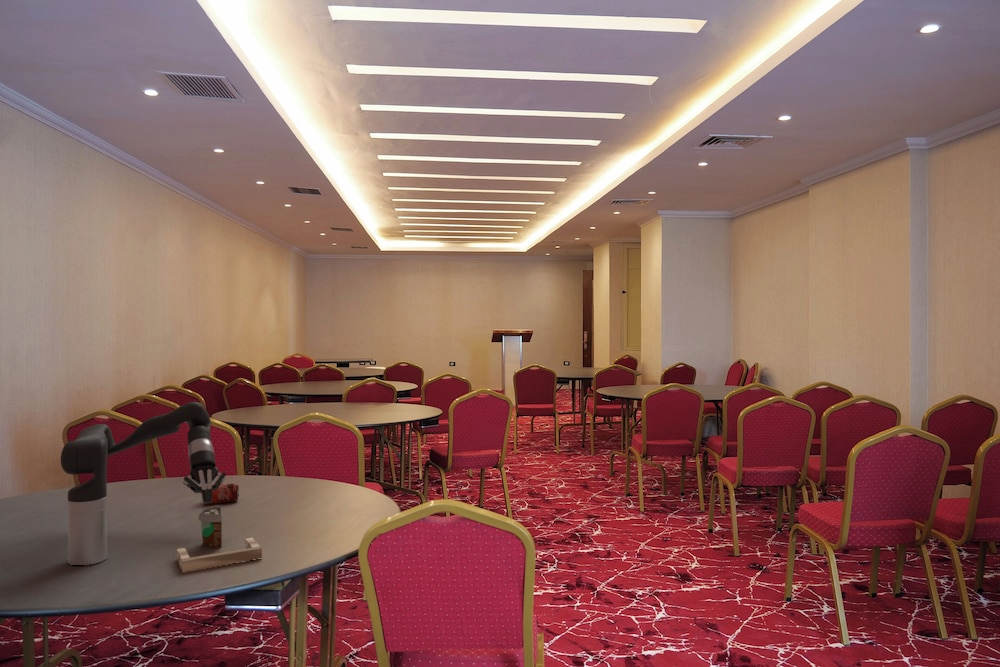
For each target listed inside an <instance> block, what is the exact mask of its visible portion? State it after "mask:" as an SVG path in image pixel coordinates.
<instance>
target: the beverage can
mask: <svg viewBox="0 0 1000 667" xmlns="http://www.w3.org/2000/svg"><path fill="white" fill-rule="evenodd" d="M213 485H214V484H212V486H213ZM205 486H206V484H205ZM206 490H207V488H206ZM212 495H213V499H212V501H211V502H210V503H209V504H219V503H220V504H222V503H233V502H236V501H238V500H239V496H240V493H239V484H235V483H224V484H223V483H221V485H220V486H219V487H218V489H217V490H216V491H212ZM209 504H208V505H209Z"/></svg>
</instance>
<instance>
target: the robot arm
mask: <svg viewBox="0 0 1000 667" xmlns="http://www.w3.org/2000/svg"><path fill="white" fill-rule="evenodd" d="M185 422H186V423H187V425H188V428H189V430H188V432H187V435H186V438H187V445H188V451H187V452H188V454H187V455H188V461H189V462H188V463H189V468H190V471H189V474H188V475H187V476H184V477H183V481H182V483H183V485H185V486H186V487H187V488H189V490H191V491H192V492H194V493H195V494H198V493H199V494H201V500H202V502H203V503H204V505H206V504H207V505H209V503H210V502H211V501H212V499H213V495H212V491H216V490H217V489H218V487H219V486H220V485H221V484H223V482H224V481H225V480H226V475H227V474H226V473H225V472H222V473H221V472H220V471H219V469H218V468H217V464H216V458H215V450H214V445H213V444H212V443H213V442H212V438H211V428H212V426H211V425H212V422H211V417H210V415H209V413H208V412H207V410H206V408H205V407H204V405H203V404H202V403H200V402H197V401H192V402H191V401H190V402H187V403H184V404H182V405H180V406H179V407H176V408H174V409H173V410H171V411H169V412H167V413H163V414H160V415H156V416H152V417H150V418H147V419H146V420H145V421H143V422H142V423H141V424H139V425H138V427H137V428H136V429H135V430H133V432H132V433H131V434H130V435H128V436H127V437H126V438H125V439H123V440H121V441H120V442H116V443H115V440H114V439H115V438H114V437H113V433H112V430H111V428H110V426H108V424H104V423H98V424H92V425H89V426H87V427H85V428H83V429H82V430H81V431H80V432H79V433H78V437H76V439H74V440H70V441H68V442H66V443H65V444H64V445H63V448H62V450H61V452H60V465H61V468H62V470H63V472H64V473H65V474H67V475H72V476H73V475H74V476H75V475H86V474H87V475H88V474H93V476H92V477H91V478H90V479H89V480H87V481H85V482H83V483H81V484H78V485H76V486H74V487H73V486H72V488H70V489H69V490H68V492H67V564H68V565H69V564H70V565H69V566H72V565H84V566H90V564H91V565H95V564H98V563H102V562H104V561H106V560H107V558H108V501H107V500H108V496H107V494H108V493H107V492H108V491H107V490H108V489H107V474H108V473H107V472H108V470H107V469H108V459H109V458H108V457H109V456H113V455H115V454H117V453H121V452H122V451H125V450H128V449H130V448H131V449H132V448H134V447H136V446H139V445H141V444H143V443H146V442H149V441H151V440H155V439H157V438H161V437H165V436H168V435H172V434H175V433H177V432H179V430H180V428H181V425H182V424H183V423H185ZM216 477H217V478H216ZM215 479H217V480H216V481H215ZM214 481H215V482H214ZM213 482H214V483H213ZM212 483H213V484H212ZM205 485H206V486H205ZM212 485H213V486H212ZM206 488H207V490H206Z"/></svg>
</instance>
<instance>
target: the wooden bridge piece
mask: <svg viewBox="0 0 1000 667" xmlns="http://www.w3.org/2000/svg"><path fill="white" fill-rule="evenodd" d="M244 541H245V542H244V546H245V548H246V549H245V548H241V549H237V550H230V551H224V552H218V553H212V554H211V553H210V554H205V555H200V556H199V555H197V556H193V557H192V556H191V557H190V555H189V553H188V551H187V549H186V547H181V548H177V549H176V560H177V563H178V565H179V567H180V570H181V572H182V573H183V574H184V573H189V571H190V572H194V571H202V570H206V569H207V568H208V569H213V568H212V567H214V568H218V567H217V566H219V567H223V566H222V565H225V566H229V565H228V564H231V565H233V564H232V563H237V564H239V563H238V562H242V561H248V560H253V559H258V558H262V559H263V551H262V550H263V549H262V547H261V545H260V544H259V543H258V542H257V541H256V540H255V539H254V537H247V538H245V539H244ZM208 569H207V570H208Z"/></svg>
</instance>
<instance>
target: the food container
mask: <svg viewBox="0 0 1000 667" xmlns="http://www.w3.org/2000/svg"><path fill="white" fill-rule="evenodd" d="M221 506H222V505H218V504H217V505H211V506H208V507H204V508H202V509H201V510H200V512H199V514H198V521H200V522H201V523H200V524H201V537H202V546H203V547H204V546H205V547H204V548H207V547H222V537H223V536H222V533H223V532H222V523H223V522H222V521H223V520H222V519H223V518H222V513H221V512H222V509H221V508H222V507H221ZM222 548H223V547H222Z"/></svg>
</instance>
